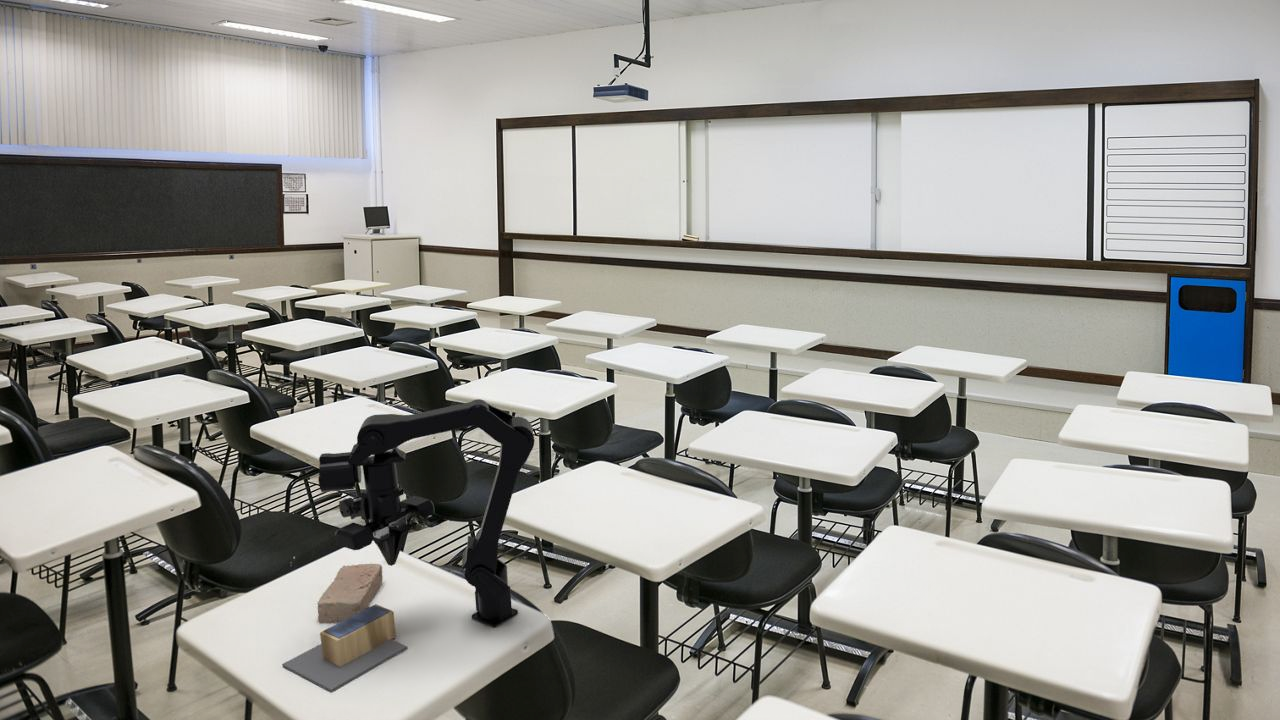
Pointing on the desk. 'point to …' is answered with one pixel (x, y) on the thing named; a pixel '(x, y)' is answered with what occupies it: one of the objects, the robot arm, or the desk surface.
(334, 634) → the oak block
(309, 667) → the mat
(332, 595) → the brick
